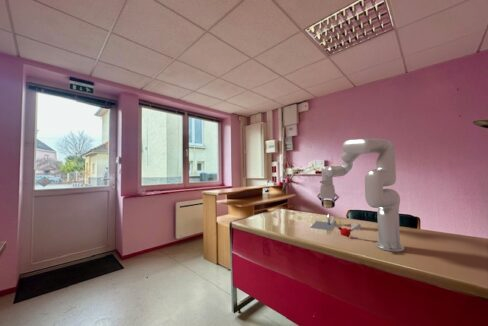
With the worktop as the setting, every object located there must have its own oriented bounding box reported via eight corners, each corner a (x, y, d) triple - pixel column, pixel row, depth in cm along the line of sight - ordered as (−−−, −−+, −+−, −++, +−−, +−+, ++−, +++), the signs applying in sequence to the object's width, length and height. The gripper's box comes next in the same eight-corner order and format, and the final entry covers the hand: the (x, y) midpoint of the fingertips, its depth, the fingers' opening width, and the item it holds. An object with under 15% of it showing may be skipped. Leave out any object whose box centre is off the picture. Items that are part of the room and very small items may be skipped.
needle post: (330, 224, 149) (330, 213, 150) (327, 224, 151) (327, 213, 151) (331, 224, 151) (330, 213, 151) (328, 223, 152) (327, 213, 152)
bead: (332, 208, 147) (331, 201, 147) (322, 207, 151) (322, 200, 151) (333, 206, 152) (333, 200, 153) (324, 206, 156) (324, 199, 156)
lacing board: (332, 232, 136) (332, 230, 136) (309, 229, 144) (309, 227, 144) (337, 225, 153) (336, 223, 153) (316, 222, 161) (316, 221, 161)
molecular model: (329, 235, 130) (329, 220, 131) (332, 233, 135) (331, 218, 135) (360, 241, 119) (359, 224, 119) (362, 238, 123) (361, 222, 124)
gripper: (314, 183, 153) (315, 206, 153) (339, 183, 144) (340, 208, 144) (316, 182, 160) (317, 205, 159) (340, 182, 150) (341, 206, 150)
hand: (328, 206), depth 152 cm, fingers closed on bead, 6 cm apart
